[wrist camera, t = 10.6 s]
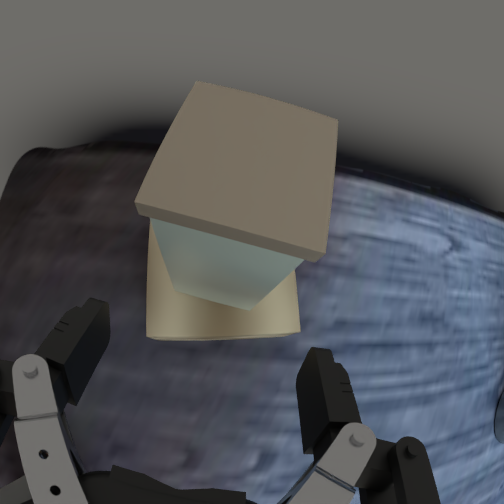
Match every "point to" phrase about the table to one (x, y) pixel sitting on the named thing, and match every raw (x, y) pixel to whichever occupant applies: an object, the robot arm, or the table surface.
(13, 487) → the coffee mug
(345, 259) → the table surface
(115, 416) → the table surface
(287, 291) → the maple block
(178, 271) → the sage canister
